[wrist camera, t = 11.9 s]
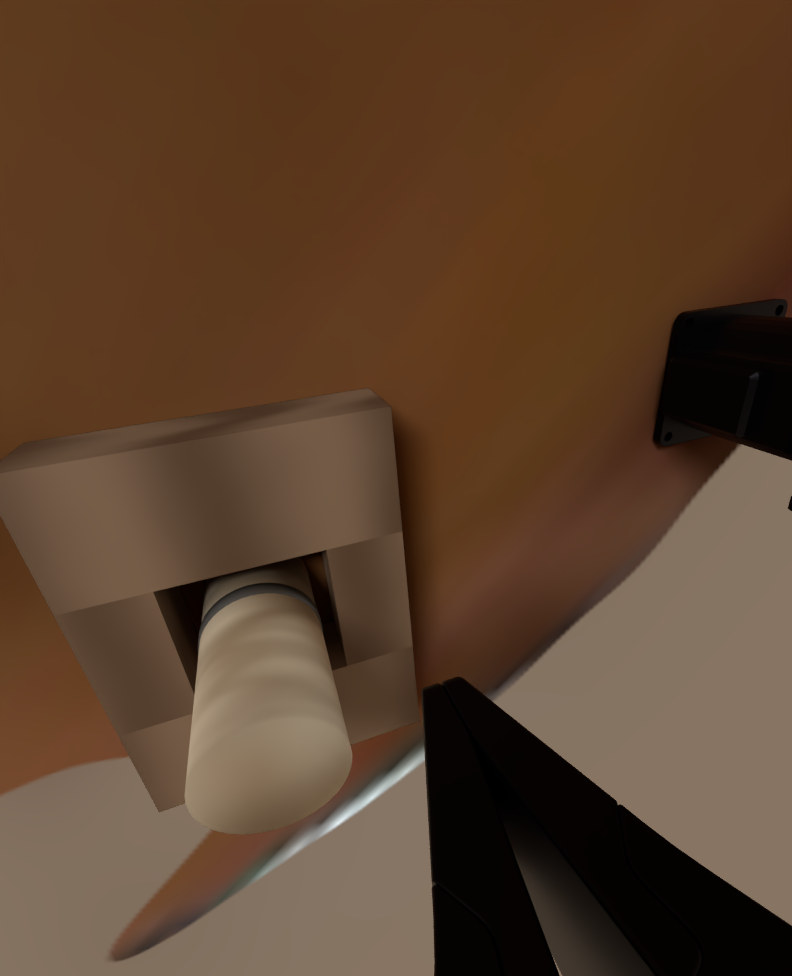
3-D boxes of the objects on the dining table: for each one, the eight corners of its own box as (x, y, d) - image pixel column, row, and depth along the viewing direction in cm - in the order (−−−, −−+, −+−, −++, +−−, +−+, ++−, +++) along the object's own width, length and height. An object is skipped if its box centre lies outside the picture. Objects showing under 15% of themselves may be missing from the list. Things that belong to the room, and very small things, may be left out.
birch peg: (300, 531, 20) (342, 695, 12) (316, 611, 22) (362, 797, 14) (190, 556, 19) (159, 755, 11) (218, 638, 21) (208, 856, 13)
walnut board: (368, 388, 18) (391, 406, 16) (400, 675, 25) (419, 720, 23) (23, 443, 15) (-21, 476, 13) (168, 750, 22) (159, 812, 20)
